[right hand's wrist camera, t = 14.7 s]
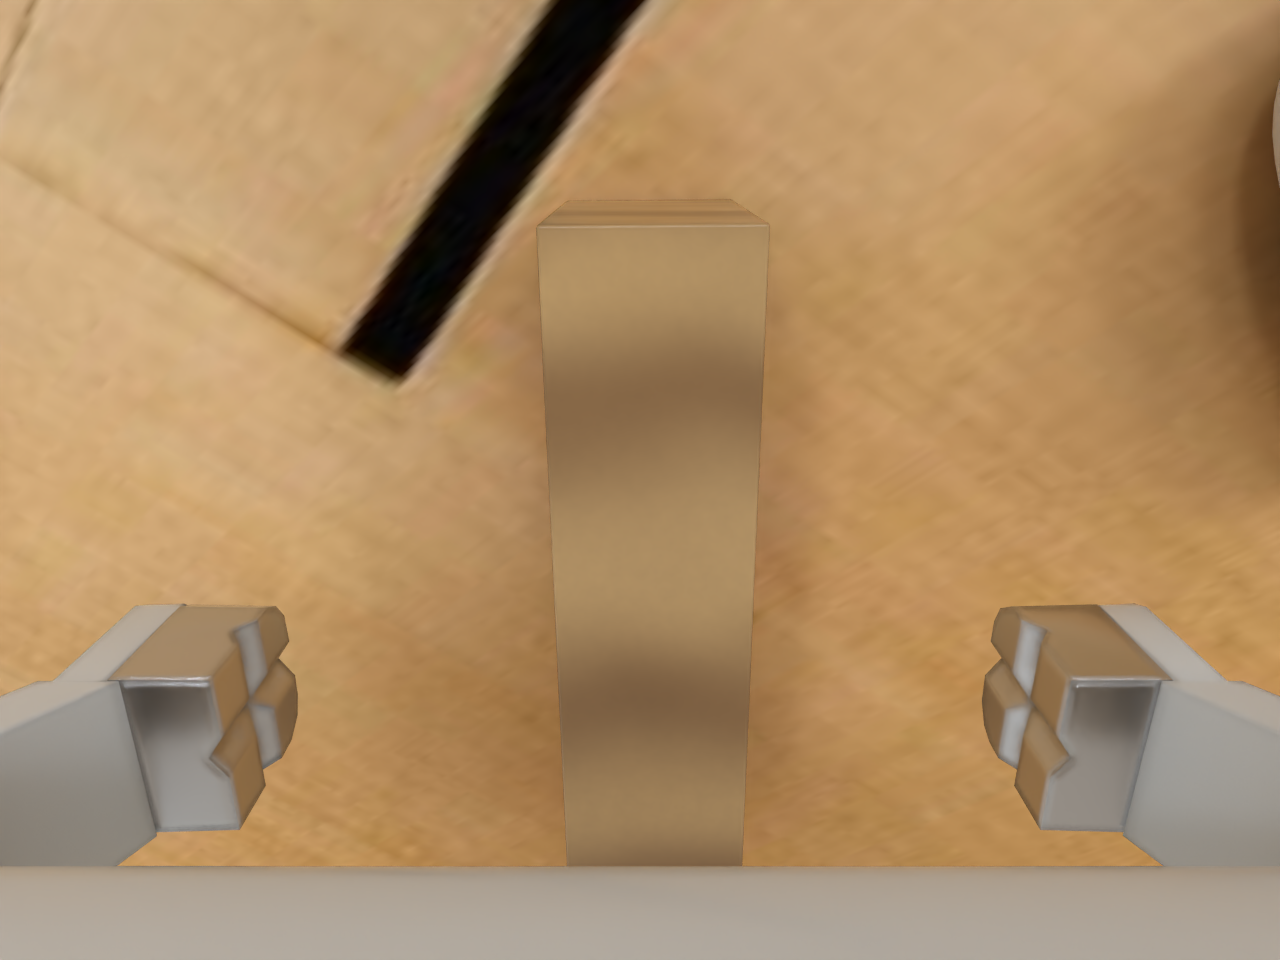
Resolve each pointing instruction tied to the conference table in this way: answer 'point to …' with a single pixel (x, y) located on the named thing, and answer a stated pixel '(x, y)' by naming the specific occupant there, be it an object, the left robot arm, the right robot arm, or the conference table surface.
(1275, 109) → the white rounded slotted device
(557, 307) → the bar
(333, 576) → the conference table surface
